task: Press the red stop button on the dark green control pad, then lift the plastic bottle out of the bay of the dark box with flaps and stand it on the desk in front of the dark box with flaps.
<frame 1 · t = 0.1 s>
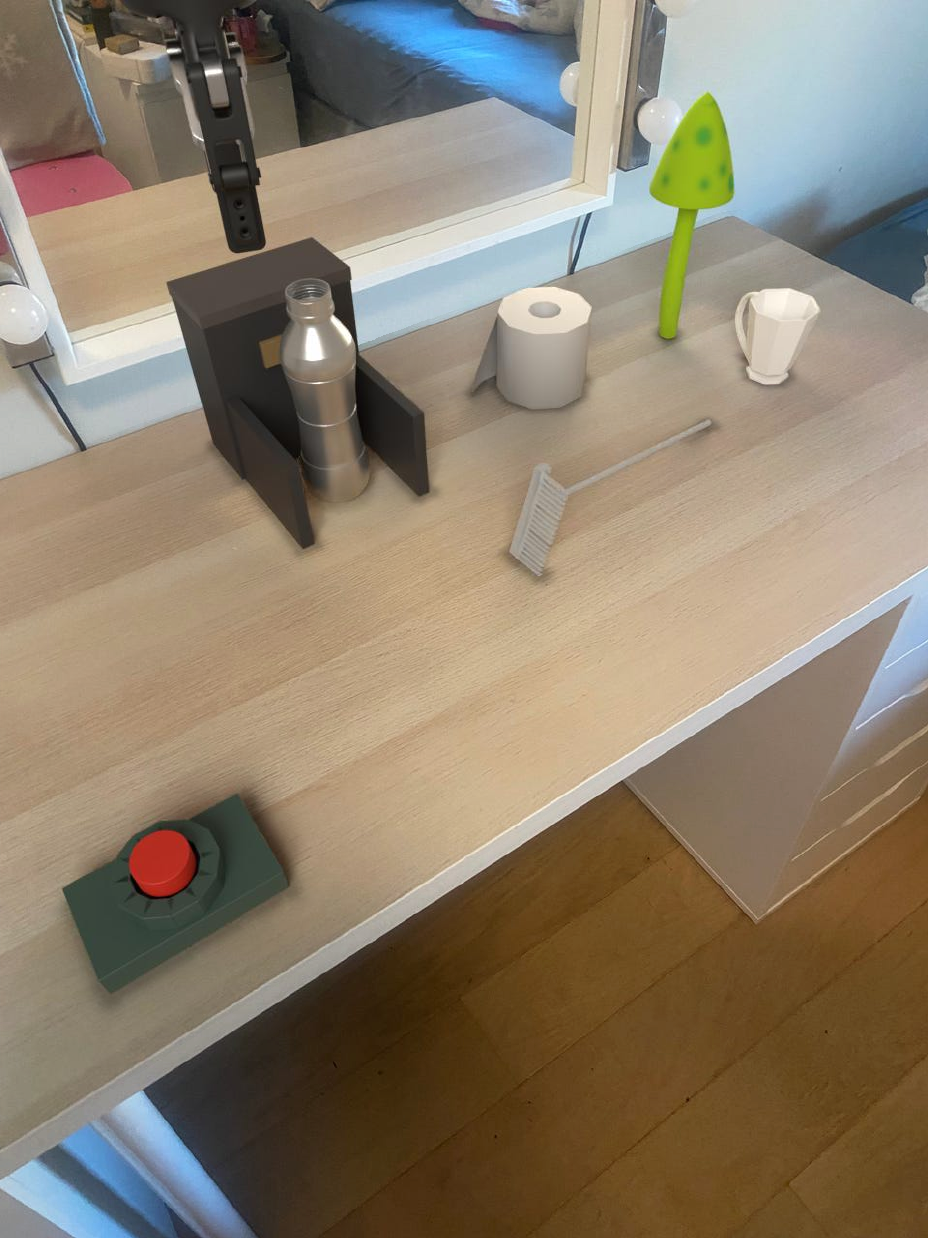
hand: (238, 218, 56), 30 cm above the table, tool pointing down, fingers open, 8 cm apart
dark box with flaps: (339, 488, 85), on the table
brush: (617, 495, 84), on the table
cup: (757, 368, 97), on the table
stop button: (163, 863, 54), point 4 cm above the table, slide at 0.1 cm
mushroom: (667, 335, 102), on the table
toilet tissue: (528, 387, 96), on the table
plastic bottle: (339, 490, 85), on the table
control pad: (181, 895, 58), on the table
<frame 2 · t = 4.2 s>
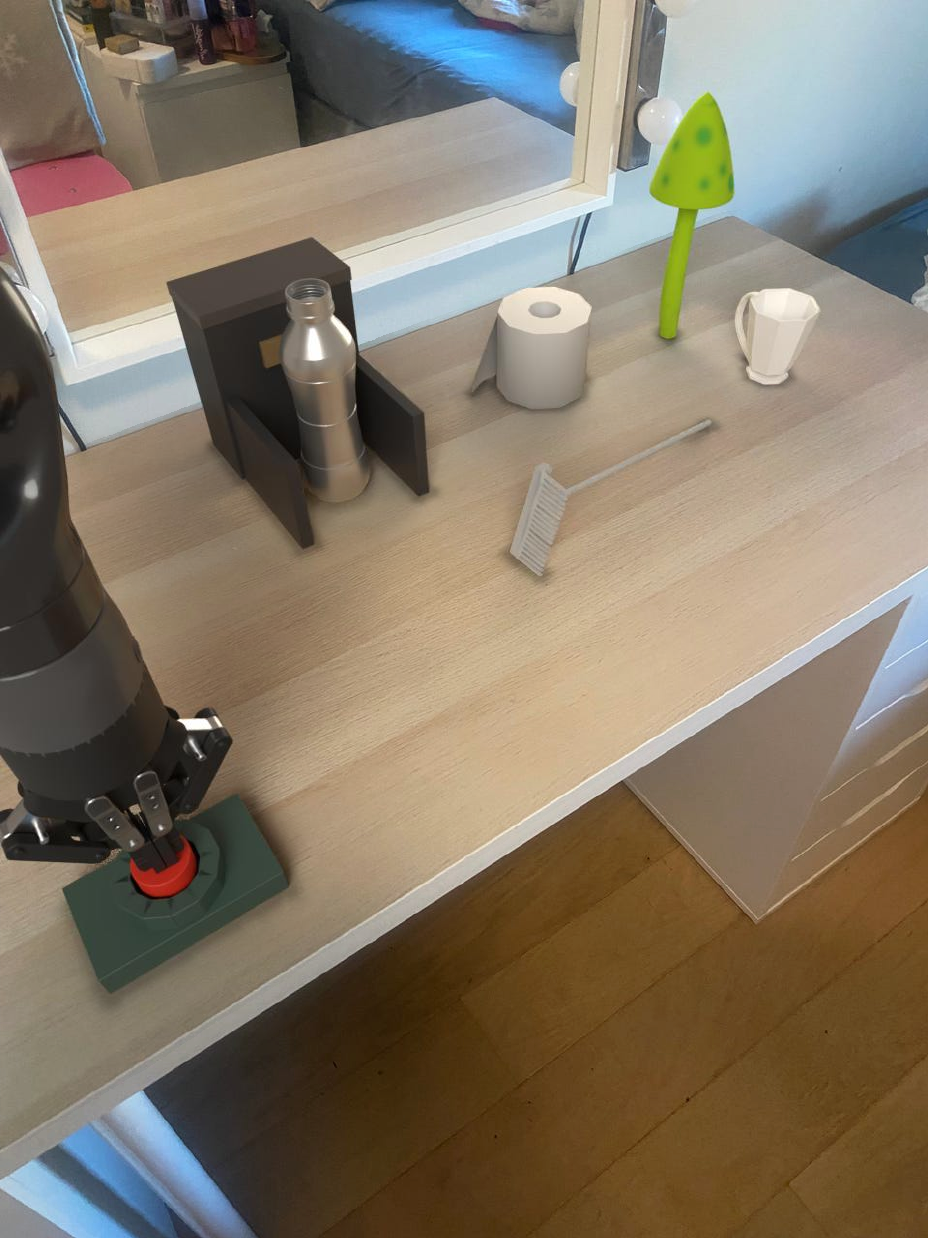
hand: (162, 857, 54), 5 cm above the table, tool pointing down, fingers closed
stop button: (164, 865, 55), point 4 cm above the table, slide at -0.1 cm, touching gripper
everything else where it was.
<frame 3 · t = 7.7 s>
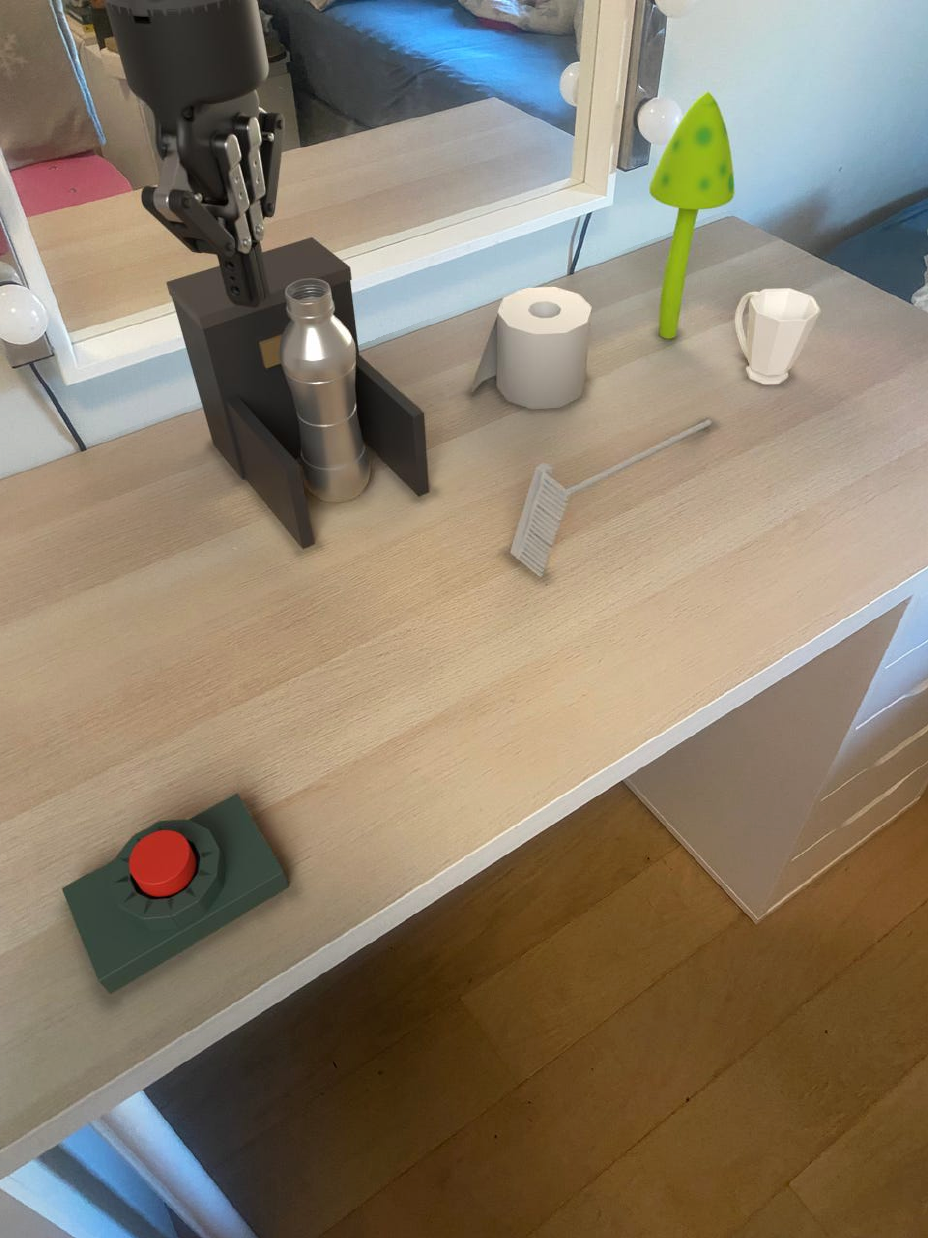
hand: (250, 300, 58), 26 cm above the table, tool pointing down, fingers closed
stop button: (163, 863, 54), point 4 cm above the table, slide at 0.1 cm
everything else where it was.
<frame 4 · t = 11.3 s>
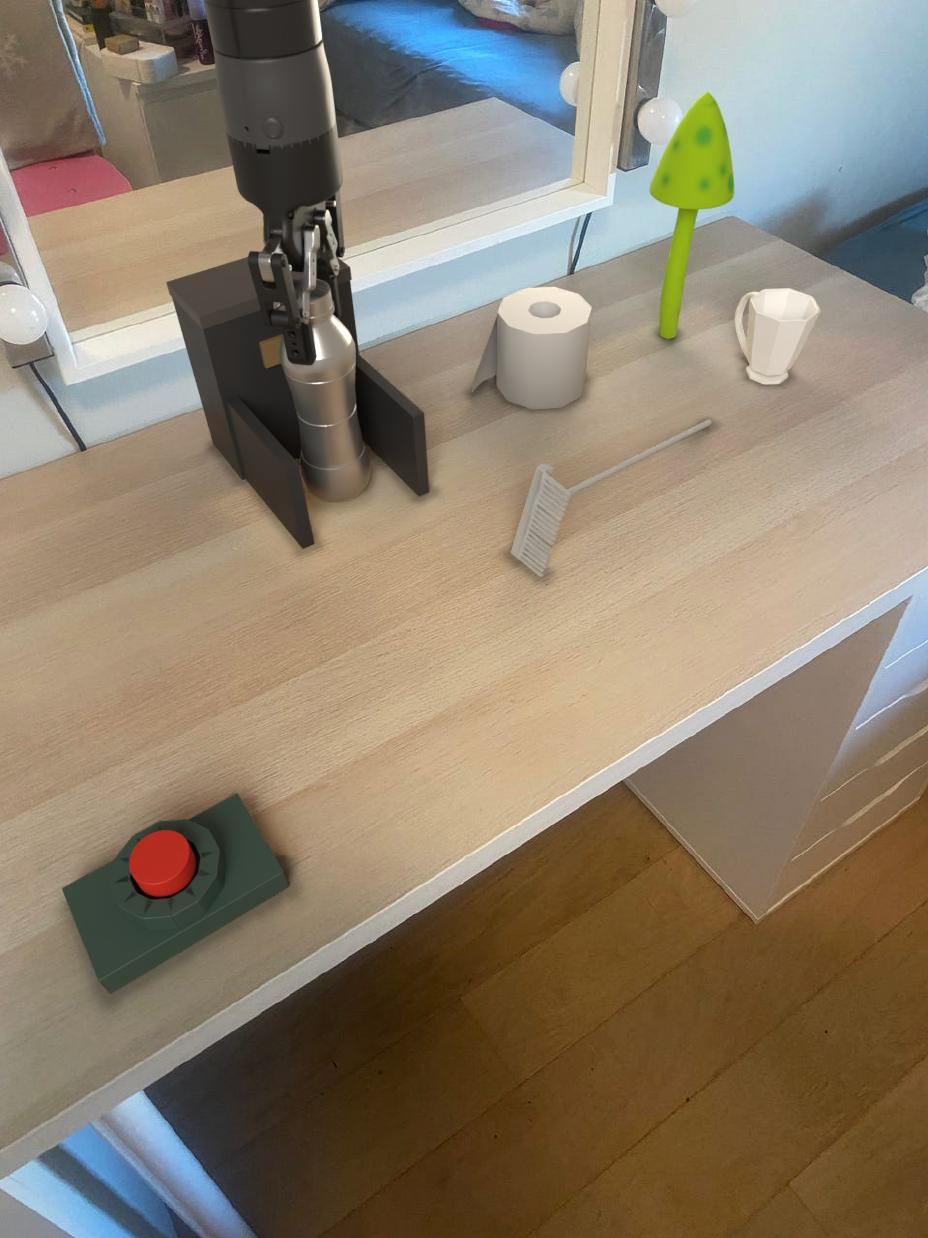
hand: (315, 339, 73), 16 cm above the table, tool pointing down, fingers closed on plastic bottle, 6 cm apart
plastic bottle: (339, 490, 85), on the table, touching gripper
everything else where it was.
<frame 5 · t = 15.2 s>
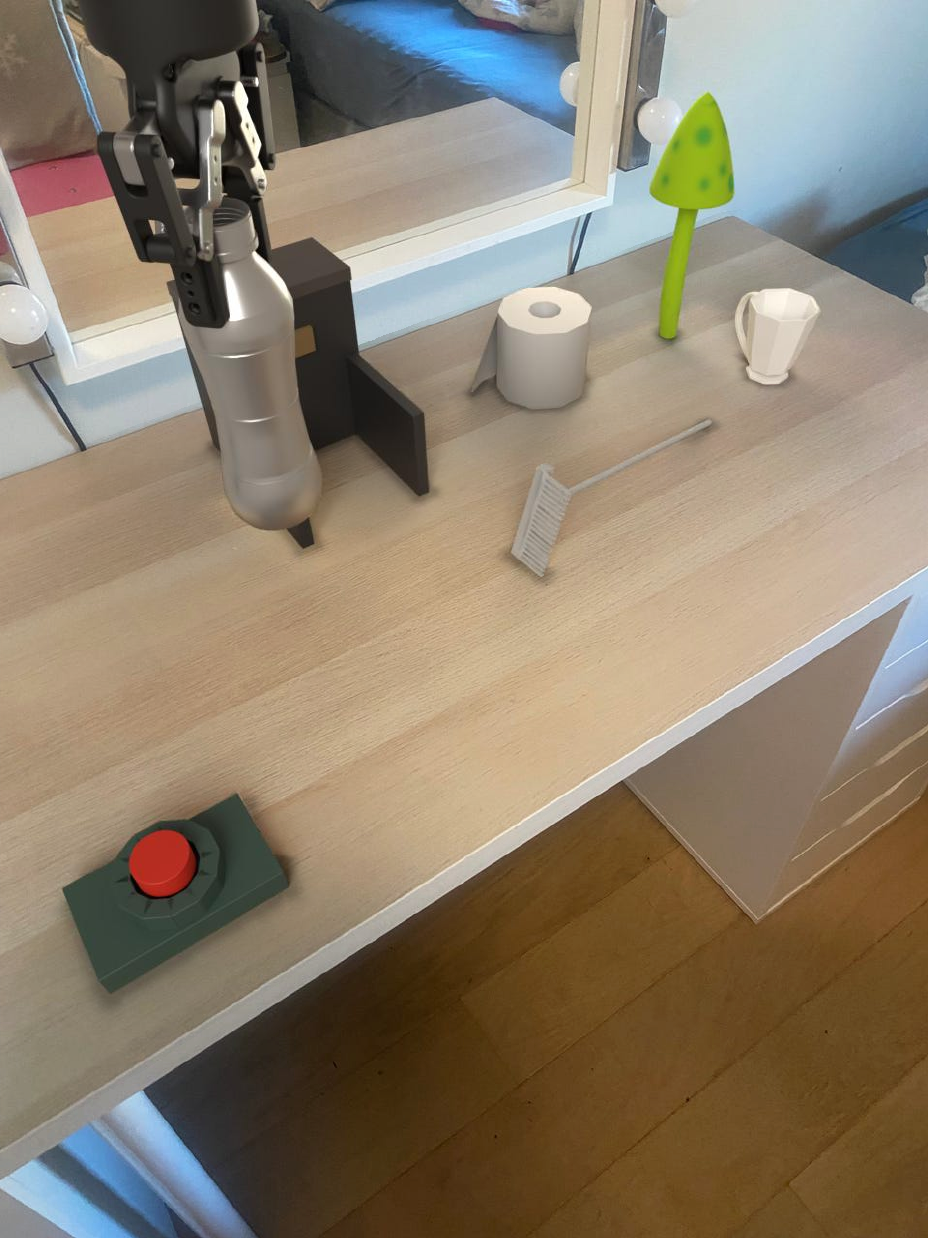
hand: (232, 292, 49), 30 cm above the table, tool pointing down, fingers closed on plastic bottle, 6 cm apart
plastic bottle: (279, 512, 61), point 14 cm above the table, touching gripper
everything else where it was.
when the fingers open (16 cm above the table, at t = 19.0 s): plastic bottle stays where it is, on the table.
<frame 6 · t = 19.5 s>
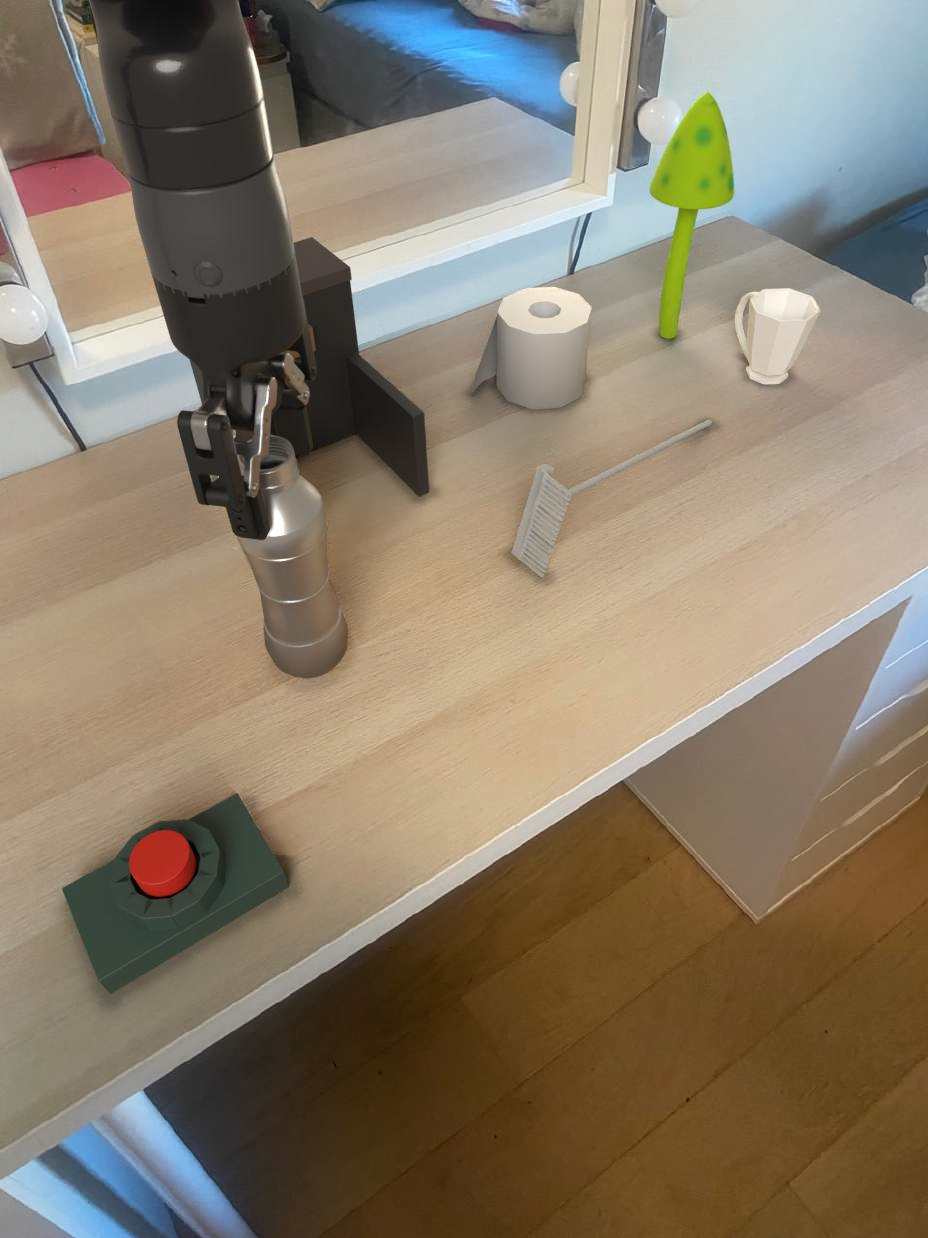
hand: (276, 491, 59), 17 cm above the table, tool pointing down, fingers open, 8 cm apart
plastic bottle: (311, 657, 71), on the table
everything else where it was.
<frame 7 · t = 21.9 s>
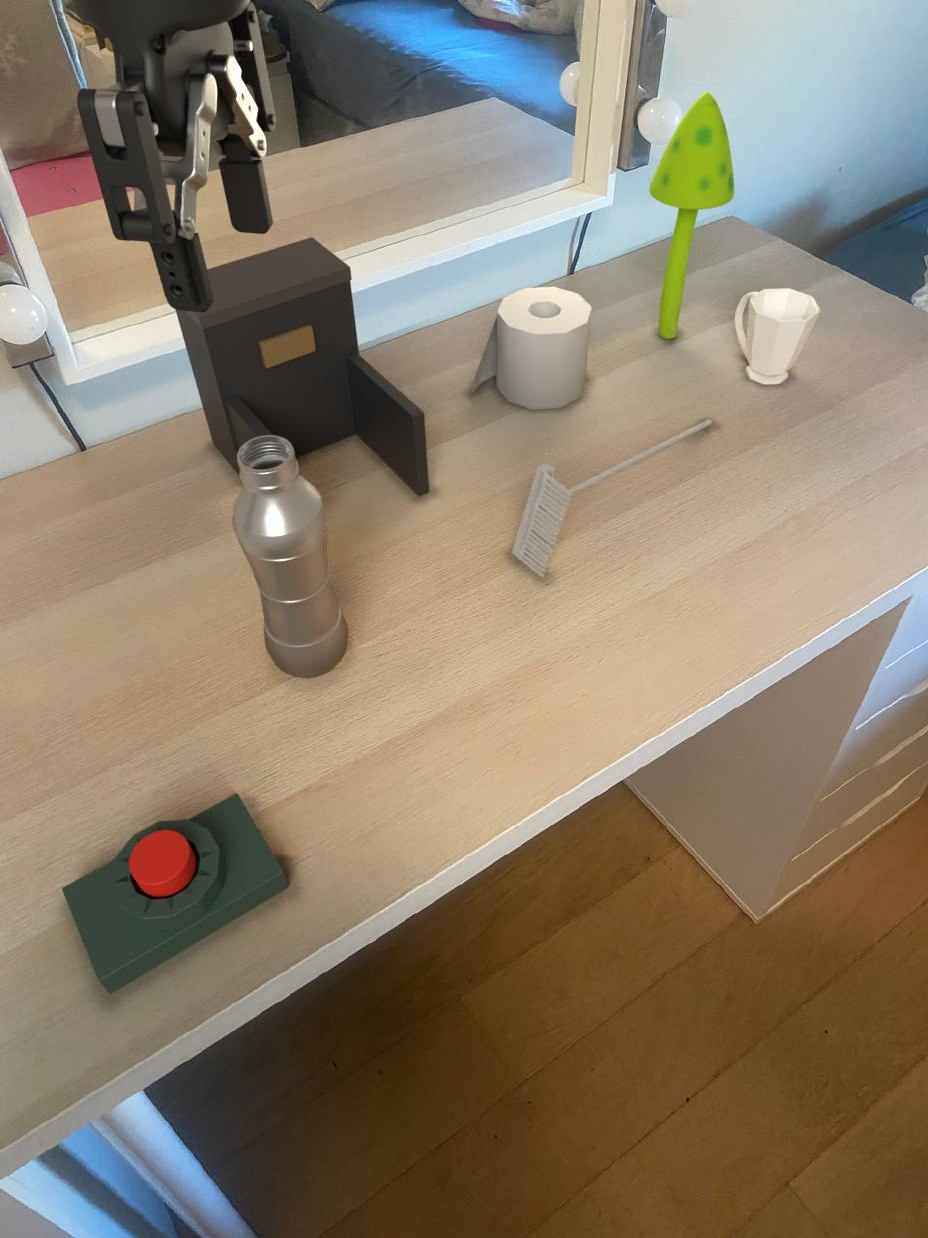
hand: (224, 266, 47), 32 cm above the table, tool pointing down, fingers open, 8 cm apart
nothing on the table moved.
at the end: stop button pushed in 1.1 cm at the most during the clip, back to where it started at the end; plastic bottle inside the target area (0.2 cm from its centre), on the table; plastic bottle tilted 0° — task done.
